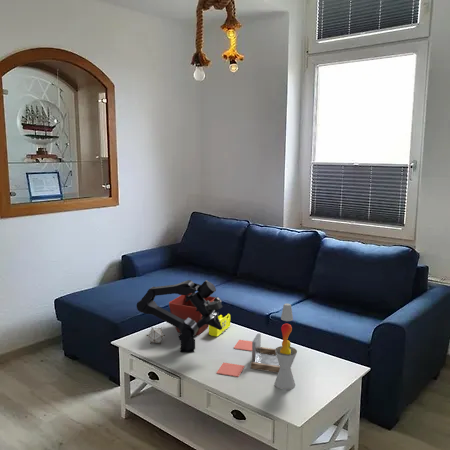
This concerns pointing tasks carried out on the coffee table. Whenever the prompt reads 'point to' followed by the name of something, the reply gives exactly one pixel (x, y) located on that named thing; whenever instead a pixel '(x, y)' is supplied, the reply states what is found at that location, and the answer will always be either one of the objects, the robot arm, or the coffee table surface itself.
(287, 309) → the lava lamp
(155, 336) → the white faceted polyhedron
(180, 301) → the plant pot
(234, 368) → the mat
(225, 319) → the yellow toy chassis
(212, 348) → the coffee table surface
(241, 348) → the mat
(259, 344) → the grey bookend
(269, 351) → the walnut corral
